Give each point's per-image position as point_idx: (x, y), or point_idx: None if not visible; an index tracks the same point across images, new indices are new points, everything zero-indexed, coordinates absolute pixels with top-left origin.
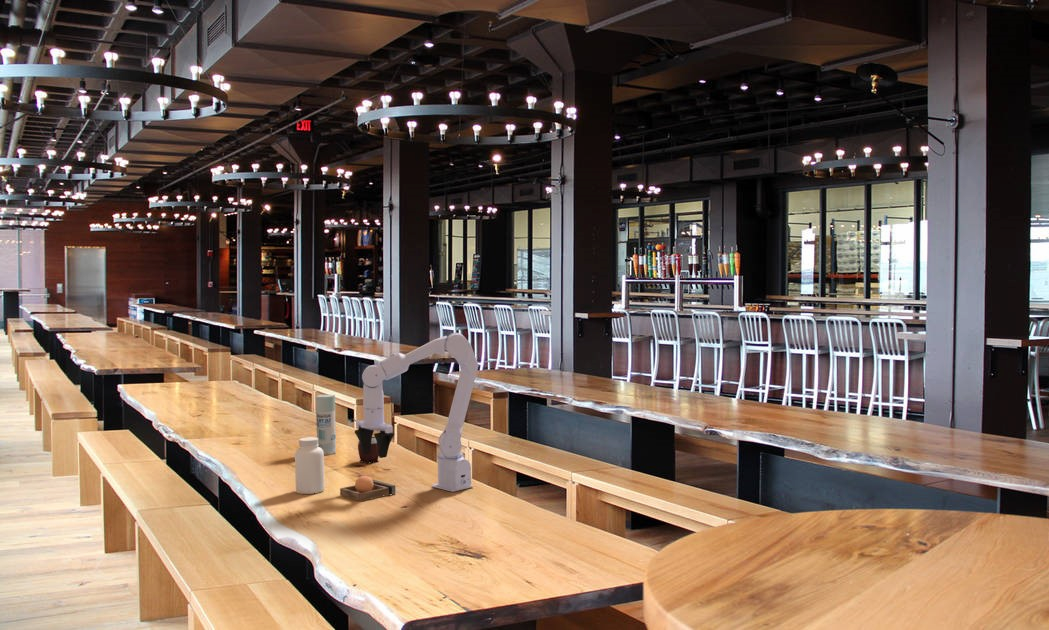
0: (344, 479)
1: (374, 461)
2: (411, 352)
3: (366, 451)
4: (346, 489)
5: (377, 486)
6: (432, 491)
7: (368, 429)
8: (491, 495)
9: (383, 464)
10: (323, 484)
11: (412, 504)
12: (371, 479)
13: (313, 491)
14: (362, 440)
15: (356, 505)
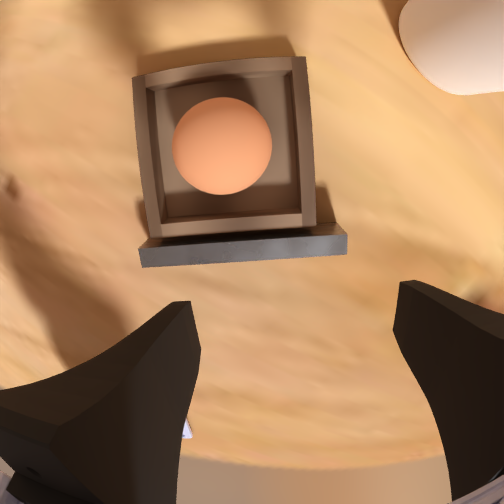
0: (491, 240)
1: None
2: None
3: (406, 311)
4: (262, 66)
5: (221, 218)
6: None
7: (488, 479)
8: None
9: None
10: (425, 61)
11: (20, 221)
12: (190, 179)
13: (400, 16)
14: (472, 338)
15: (108, 52)
